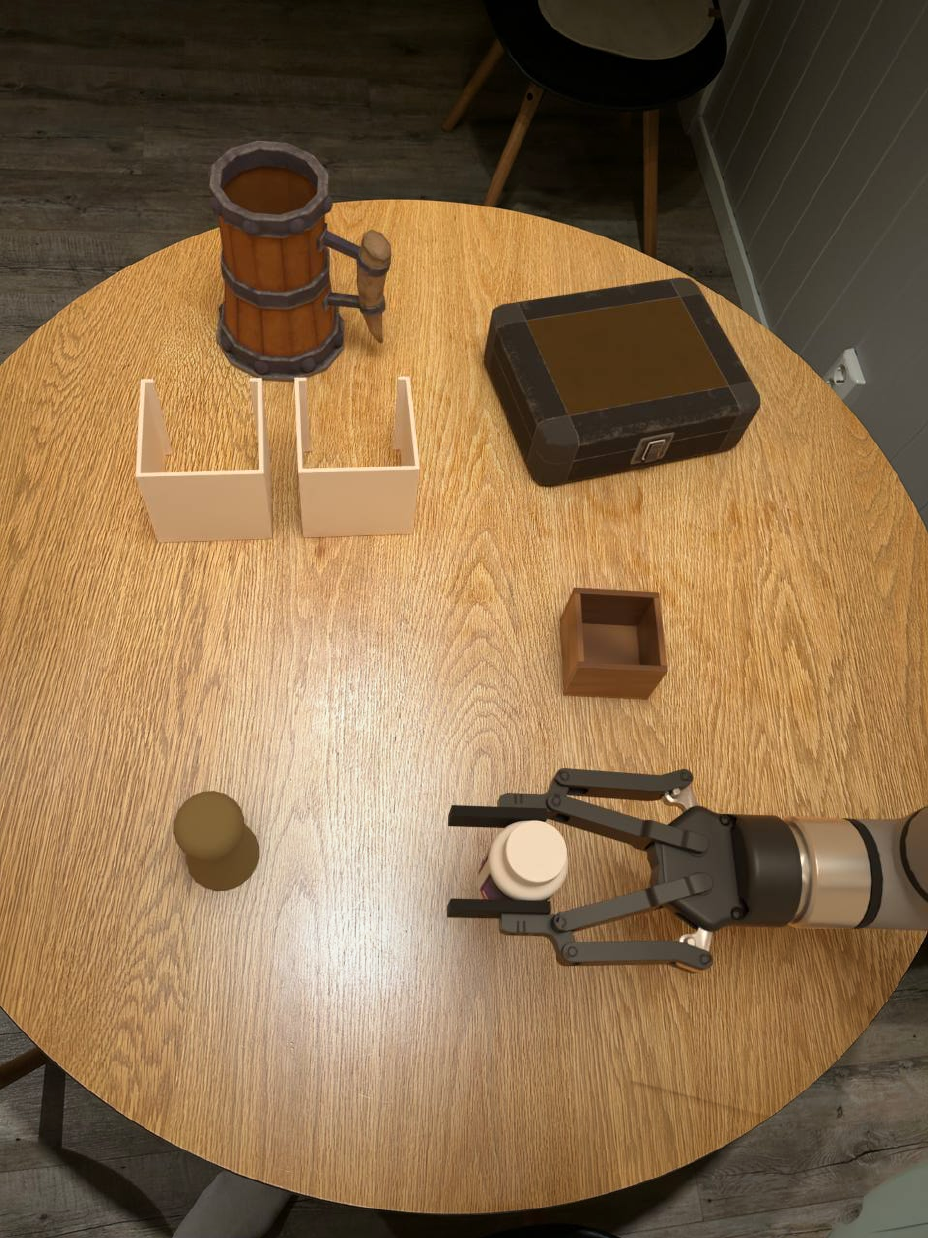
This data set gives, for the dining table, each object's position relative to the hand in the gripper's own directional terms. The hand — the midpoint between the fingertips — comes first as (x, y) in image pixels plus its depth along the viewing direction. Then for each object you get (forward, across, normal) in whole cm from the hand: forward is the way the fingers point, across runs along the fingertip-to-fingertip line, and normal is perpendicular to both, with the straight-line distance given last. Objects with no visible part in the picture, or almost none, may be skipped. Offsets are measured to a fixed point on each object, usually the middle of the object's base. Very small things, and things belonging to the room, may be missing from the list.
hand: (449, 861), depth 63 cm
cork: (+18, +4, -18) cm, 26 cm away
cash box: (-19, +56, -19) cm, 62 cm away
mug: (+16, +62, -18) cm, 67 cm away
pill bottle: (-5, 0, -6) cm, 8 cm away
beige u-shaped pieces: (+16, +41, -18) cm, 48 cm away
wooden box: (-16, +24, -18) cm, 34 cm away
